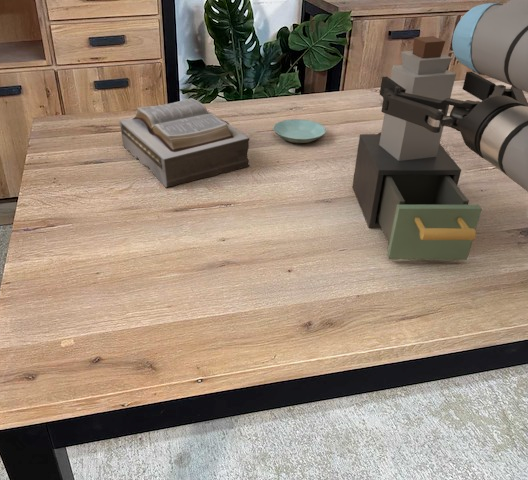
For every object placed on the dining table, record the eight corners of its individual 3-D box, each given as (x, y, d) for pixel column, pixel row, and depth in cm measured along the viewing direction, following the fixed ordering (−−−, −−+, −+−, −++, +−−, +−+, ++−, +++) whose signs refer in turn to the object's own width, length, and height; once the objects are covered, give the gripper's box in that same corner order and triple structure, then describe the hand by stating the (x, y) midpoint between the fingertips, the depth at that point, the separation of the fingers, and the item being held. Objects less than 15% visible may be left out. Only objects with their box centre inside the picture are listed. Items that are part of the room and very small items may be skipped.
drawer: (479, 279, 76) (496, 226, 71) (396, 278, 77) (408, 226, 72) (437, 214, 91) (449, 166, 87) (369, 213, 92) (377, 166, 87)
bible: (214, 127, 129) (214, 87, 124) (256, 173, 108) (258, 127, 102) (119, 140, 124) (114, 98, 118) (143, 192, 102) (138, 144, 97)
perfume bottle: (414, 141, 93) (437, 33, 83) (436, 156, 88) (463, 42, 78) (379, 144, 92) (397, 35, 82) (398, 160, 86) (421, 46, 77)
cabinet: (446, 228, 89) (461, 169, 83) (368, 228, 90) (378, 170, 84) (419, 187, 102) (431, 133, 96) (352, 187, 102) (359, 134, 96)
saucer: (331, 132, 125) (332, 123, 124) (315, 151, 116) (316, 141, 115) (283, 125, 130) (284, 116, 128) (265, 142, 121) (265, 133, 120)
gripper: (403, 170, 66) (344, 111, 83) (589, 155, 68) (494, 101, 86) (415, 111, 62) (350, 62, 79) (613, 98, 64) (507, 53, 82)
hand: (425, 82), depth 83 cm, fingers open, 13 cm apart
